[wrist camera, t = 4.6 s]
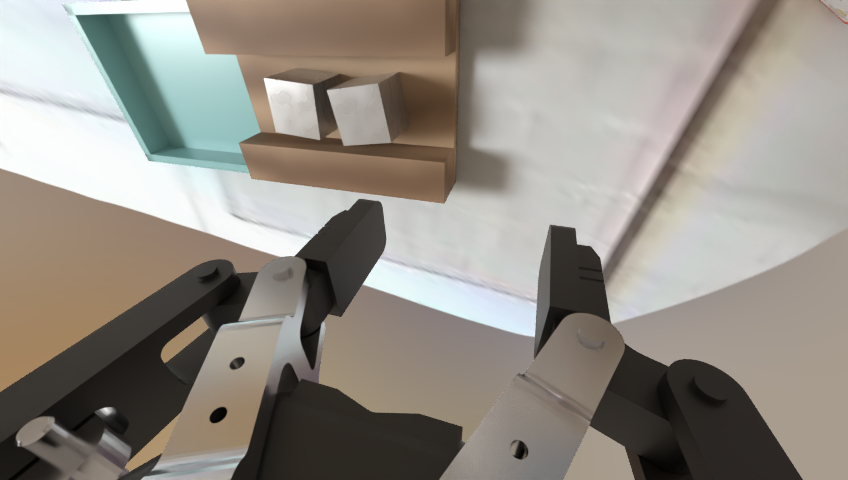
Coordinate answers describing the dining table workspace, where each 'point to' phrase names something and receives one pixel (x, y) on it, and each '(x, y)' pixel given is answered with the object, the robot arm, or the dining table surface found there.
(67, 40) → the dining table surface
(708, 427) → the robot arm
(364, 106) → the metal block
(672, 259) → the dining table surface
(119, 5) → the teal tray
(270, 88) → the metal block
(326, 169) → the walnut slot board
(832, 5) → the cracker box
